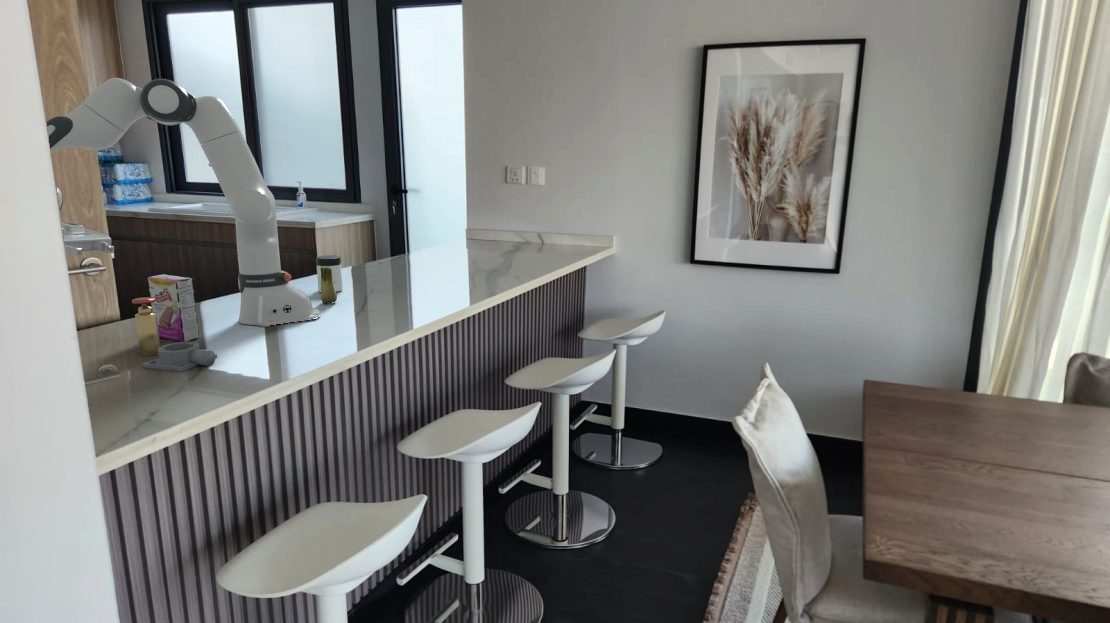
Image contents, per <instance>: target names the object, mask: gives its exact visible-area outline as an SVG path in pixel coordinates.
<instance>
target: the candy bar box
mask: <svg viewBox="0 0 1110 623" xmlns="http://www.w3.org/2000/svg"><path fill="white" fill-rule="evenodd" d="M147 282H148V283H147V284H148V289H149V297H153V298H155V302H152V303H150V304H151V307H152V312H156V316H157V323H158V331H159V338H160V339H165V340H170V341H171V340H172V341H178V342H191V341H194V340H198V339H200V333H199V332H200V331H199V330H200V329H199V324H198V315H197V308H196V305H197V304H196V298H195V291H194V283H193V278H191V277H185V276H177V275H171V274H158V275H153V276H149V277H147ZM193 339H194V340H193ZM190 340H191V341H190Z"/></svg>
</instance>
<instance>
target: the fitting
mask: <svg viewBox="0 0 1110 623" xmlns="http://www.w3.org/2000/svg"><path fill="white" fill-rule="evenodd" d="M160 346H161V347H158V358H155V359H151V360H149V361H146V362H144V363H141V365H142V366H141V367H142V368H146V369H152V370H161V371H171V370H173V372H180V373H181V372H182V371H183V372H185V371H187V370H190V369H192V368H195V367H197V366H206V367H210V365H211V366H212V365H213V364H214V363H215V361H216V359H217V358H218V354H216V353H215V351H213V350H211V349H202V348H201V349H200V344H199V342H197V341H196V342H195V341H187V342H181V341H178V342H172V343H168V344H165V345H160ZM216 357H217V358H216Z"/></svg>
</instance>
